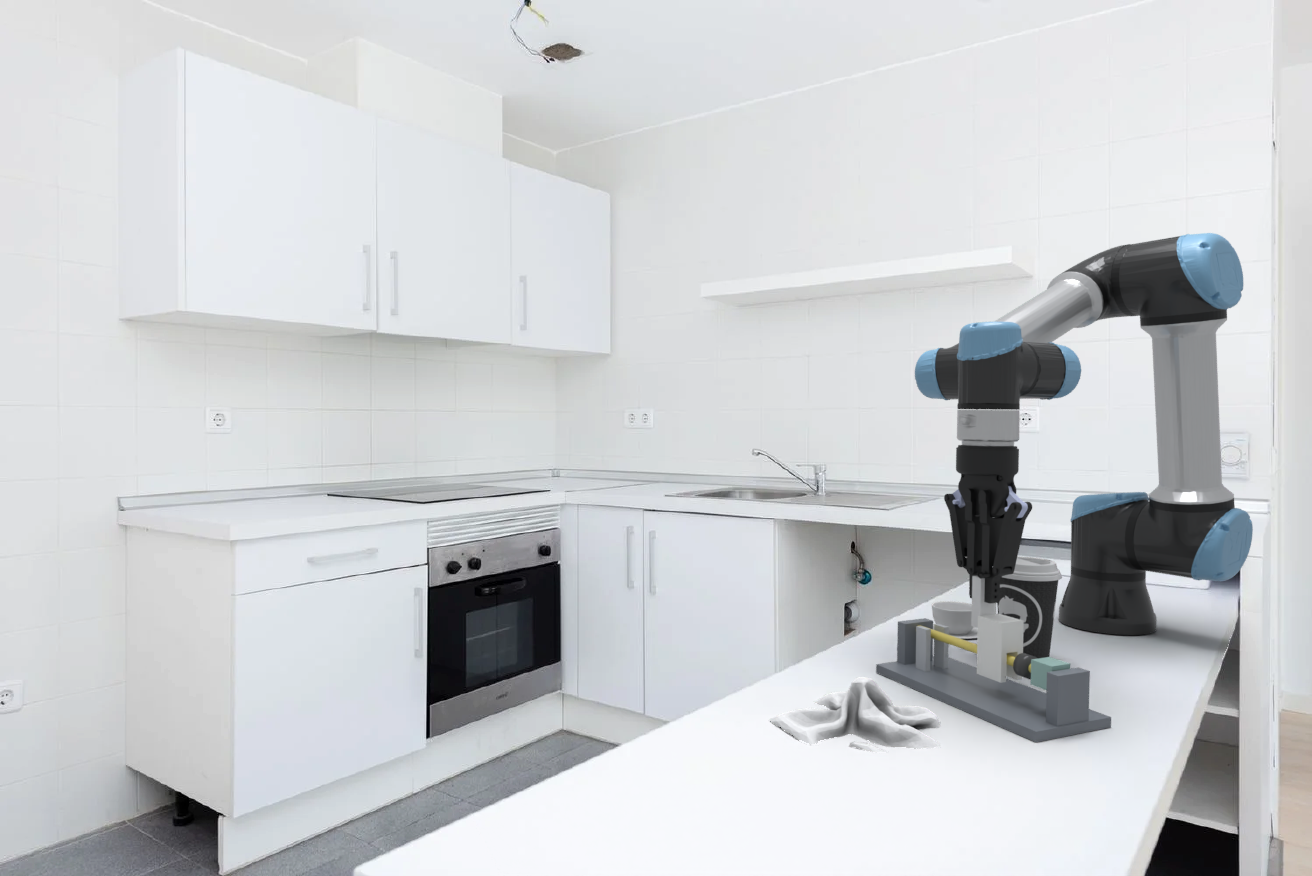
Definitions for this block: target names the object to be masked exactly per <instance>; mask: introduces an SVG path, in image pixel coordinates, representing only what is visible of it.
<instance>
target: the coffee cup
mask: <svg viewBox="0 0 1312 876" xmlns="http://www.w3.org/2000/svg"><path fill="white" fill-rule="evenodd" d="M1062 578H1063V576H1062V572H1061V571H1060V569H1059V568H1058V565H1057V562H1055V561H1054V560H1051V559H1046V558H1040V557H1033V556H1032V557H1031V556H1017V560H1016V565H1015V570H1014V573H1013V574H1009V575H1005V576H1002V577H1001V579H1000V594H999V595H1000V599H999V602H998V603H996V608H997V614H1002V615H1006V616H1009V617H1013V618H1016V619H1020V620H1023V621H1024V629H1023V653H1025V654H1028V655H1031V656H1035V657H1037V658H1038V659H1039V658H1045V657H1051V655H1050V653H1051V645H1052V639H1053V638H1052V636H1053V629H1054V627H1053V626H1054V621H1055V611H1056V603H1057V593H1058V587H1059V580H1062Z"/></svg>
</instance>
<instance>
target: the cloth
mask: <svg viewBox="0 0 1312 876" xmlns="http://www.w3.org/2000/svg"><path fill="white" fill-rule="evenodd" d="M814 702H815V703H817V704H816V705H818V706H819V705H820V706H822V705H824V706H823V707H825V706H826V708H827V709H826V708H814V707H806V708H800V709H793V710H790V711H785V712H783V713H780V714H778V715H776V716H773V717H771V718H770V719H769V720H770V721H771V722H772V723H771V722H770V721H769V722H770V723H771V724H773V725H774V724H775V725H774V726H776V725H777V726H776V727H778V726H779V727H781V728H782V729H783V730H782V729H781V728H780V729H781V730H782V731H784V730H785V731H786V732H785V731H784V732H785V733H786V734H789V733H790V734H789V735H790V736H792V735H793V736H794V737H795V738H794V737H793V736H792V737H793V738H794V739H796V738H797V739H798V740H797V739H796V740H797V741H799V740H802V741H804V742H806V743H809V744H815V743H816V744H817V743H818V741H820V740H824V739H826V740H830V739H829V738H831V739H835V738H834V737H837V738H841V737H844V736H848V734H851V736H852V734H853V735H854V736H856V737H859V738H861V739H863V740H865V741H867V740H869V741H870V742H869V741H868V742H869V744H868V742H863V741H857V740H856V741H851V742H849V744H848V747H849V748H852V747H856V748H855V749H858V748H860V749H859V750H862V749H864V750H863V751H865V750H866V752H869V751H870V752H871V753H873V752H875V754H878V753H877V752H886V753H885V754H887V752H888V753H889V751H887V750H885V749H883V748H880V747H878V746H876V745H879V746H882V747H886V748H887V747H888V748H895V747H906V748H905V749H910V748H914V749H913V750H924V749H923V748H926V749H941V748H942V746H941V743H940V742H938V741H937V739H935V738H933V737H931V736H929V735H927V733H925V732H922V731H921V730H919V729H921V728H925V729H940V727H942V726H941V721H940V719H939V717H938V715H937V714H936V713H934V712H933V711H932V710H930V709H929V708H927V707H925V706H918V705H895V704H893V700H892V699H891V698H890V696H889V695H888V694H887V692H886V691H885V690H883V688H882V687H881V686H880V685H879V684H877V682H876V681H875V680H874V679H873V678H871V677H865V676H859V677H856V678H854V680H853V681H852V682H851V684H850V686H849V688H848V690H847V691H833V692H830V693H827V694H824V695H823V696H821V697H819V698H818V699H816V700H814V701H813V703H814ZM815 703H814V704H815ZM779 727H778V728H779ZM916 728H917V729H916ZM918 728H919V729H918ZM824 741H825V740H824ZM871 743H872V744H871ZM874 743H875V744H874ZM934 747H936V748H934ZM937 747H938V748H937ZM939 747H940V748H939ZM916 748H917V749H916ZM918 748H919V749H918ZM921 748H922V749H921ZM870 752H869V753H870Z"/></svg>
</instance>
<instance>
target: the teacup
mask: <svg viewBox="0 0 1312 876" xmlns="http://www.w3.org/2000/svg"><path fill="white" fill-rule="evenodd" d="M931 611H932V618H933V622H934V623H933V630H934V624H941V625H944V626H947V627H949V635H951V636H954V637H957V638H960V639H963V640H966V639H967V640H968V639H977V633H978V628H976V627H973V626H971V617H972V603H968V602H963V601H953V600H950V601H949V600H945V601H941V600H940V601H935V602H933V603H932V604H931Z"/></svg>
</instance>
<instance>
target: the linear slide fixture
mask: <svg viewBox="0 0 1312 876" xmlns="http://www.w3.org/2000/svg"><path fill="white" fill-rule="evenodd" d="M933 624H934V630H933ZM896 639H897V640H896V641H897V645H896V646H897V647H896V648H897V649H896V653H897V654H896V661H891V662H882V663H877V664H876V665H875V667H876V668H875V669H876V670H875V673H876V674H879V675H881V676H883V677H885V678H888V679H889V680H892V681H894V682H897V683H899V684H902V685H904V686H906V687H908V688H910V689H913V690H915V691H918V692H919V693H922V694H924V695H926V696H928V697H932V698H933V699H936V700H938V701H940V702H942V703H945V704H947V705H950V706H951V707H954V708H956V709H958V710H961V711H963V712H965V713H968V714H970V715H973V716H975V717H977V718H979V719H982V720H984V721H986V722H988V723H991V724H993V725H995V726H998V727H1000V728H1002V729H1005V730H1006V731H1009V732H1010V733H1014V734H1016V735H1018V736H1020V737H1022V738H1024V739H1027V740H1029V741H1032V742H1034V743H1038V742H1039V743H1040V742H1044V741H1049V740H1054V739H1058V738H1059V739H1060V738H1064V737H1065V738H1066V737H1069V736H1074V735H1080V734H1084V733H1089V732H1094V731H1098V730H1099V731H1100V730H1103V729H1108V728H1112V716H1109V715H1107V714H1104V713H1102V712H1098V711H1096V710H1093V709H1090V682H1091V681H1090V679H1091V675H1090V670H1088V669H1084V668H1081V667H1071V663H1069V662H1067V661H1063V660H1061V659H1058V658H1054V657H1051V656H1049V657H1045V658H1039V659H1038V658H1037V657H1035V656H1031V655H1028V654H1025V653H1020V654H1018V655H1017V656H1016V657H1014V656H1011V655H1008V654H1007V665H1010V666H1013V669H1014V672H1015V673H1016V674H1017V675H1019V676H1022V678H1025V679H1027V680H1030V685H1031V686H1034V687H1036V688H1039V689H1042V690H1044V691H1041V690H1038V689H1036V688H1033V687H1030V686H1028V685H1025V684H1022V683H1020V682H1017V681H1016V680H1015V681H1014V680H1011V679H1009V678H1006V682H1002V683H1000V682H997V681H995V680H992V679H989V678H987V677H984V676H982V675H979V674H977V666H974V665H971V664H968V663H966V662H962V661H960V660H957V659H954V658H952V657H949V645H951V646H953V647H956V648H959V649H962V650H965V651H967V652H970V653H974V654H976V655H977V643H974V642H971V641H969V640H966V639H960V638H957V637H954V636H951V635H949V627H947V626H944V625H941V624H936V623H934V620H932V619H929V618H917V619H916V618H915V619H907V620H898V621H897V638H896ZM1045 691H1046V692H1045Z"/></svg>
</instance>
